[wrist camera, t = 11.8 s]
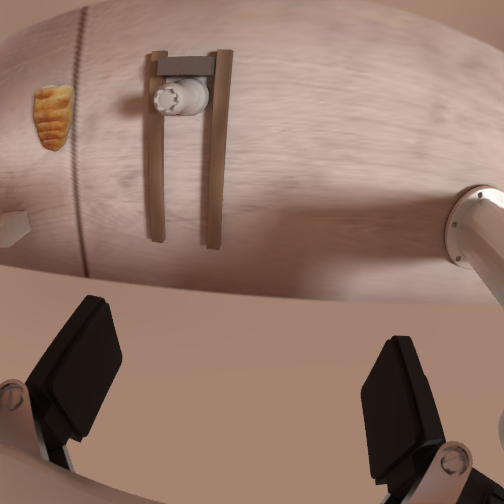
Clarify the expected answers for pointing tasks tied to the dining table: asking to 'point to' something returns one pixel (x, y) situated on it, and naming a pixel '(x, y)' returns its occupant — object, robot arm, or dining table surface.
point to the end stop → (187, 66)
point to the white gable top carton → (13, 227)
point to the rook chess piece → (181, 97)
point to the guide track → (215, 151)
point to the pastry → (54, 114)
